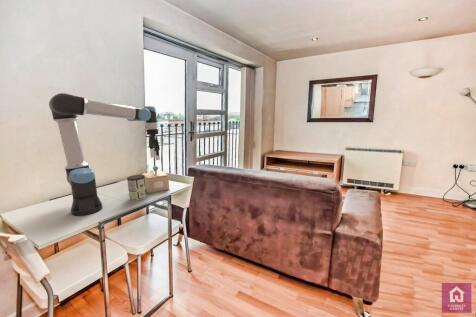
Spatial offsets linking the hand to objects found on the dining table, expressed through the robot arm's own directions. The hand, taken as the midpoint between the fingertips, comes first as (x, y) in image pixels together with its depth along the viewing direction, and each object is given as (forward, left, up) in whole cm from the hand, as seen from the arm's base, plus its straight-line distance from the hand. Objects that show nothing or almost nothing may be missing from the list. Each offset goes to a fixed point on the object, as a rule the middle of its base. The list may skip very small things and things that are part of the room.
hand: (155, 158), depth 171 cm
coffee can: (-16, -14, -22) cm, 31 cm away
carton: (-1, 0, -22) cm, 22 cm away
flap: (+2, 0, -12) cm, 12 cm away
